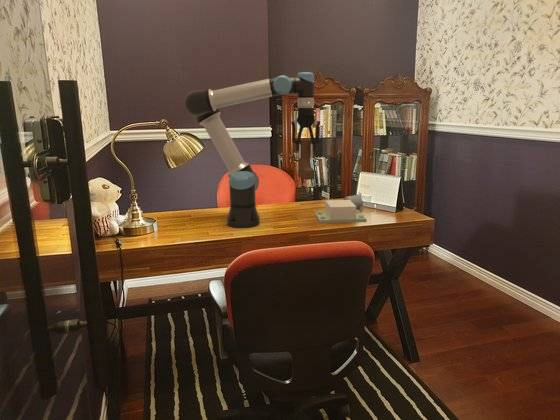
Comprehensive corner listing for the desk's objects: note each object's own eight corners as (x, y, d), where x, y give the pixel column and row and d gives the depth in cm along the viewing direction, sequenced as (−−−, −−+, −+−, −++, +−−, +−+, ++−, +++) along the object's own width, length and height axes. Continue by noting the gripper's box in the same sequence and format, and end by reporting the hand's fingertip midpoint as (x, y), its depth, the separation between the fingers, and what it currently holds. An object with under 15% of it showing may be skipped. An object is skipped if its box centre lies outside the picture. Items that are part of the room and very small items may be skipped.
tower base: (319, 223, 205) (319, 207, 203) (315, 215, 219) (315, 200, 217) (366, 221, 207) (367, 206, 205) (359, 214, 220) (359, 199, 218)
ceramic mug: (342, 208, 232) (342, 194, 230) (356, 207, 234) (357, 193, 232) (350, 214, 222) (351, 199, 220) (365, 212, 224) (366, 197, 222)
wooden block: (314, 179, 210) (315, 140, 206) (306, 179, 208) (306, 141, 204) (306, 176, 218) (306, 139, 214) (297, 177, 216) (297, 139, 212)
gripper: (287, 107, 201) (287, 159, 206) (326, 107, 202) (325, 158, 207) (285, 107, 208) (285, 157, 214) (323, 107, 209) (322, 156, 215)
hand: (305, 157), depth 210 cm, fingers closed on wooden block, 5 cm apart
